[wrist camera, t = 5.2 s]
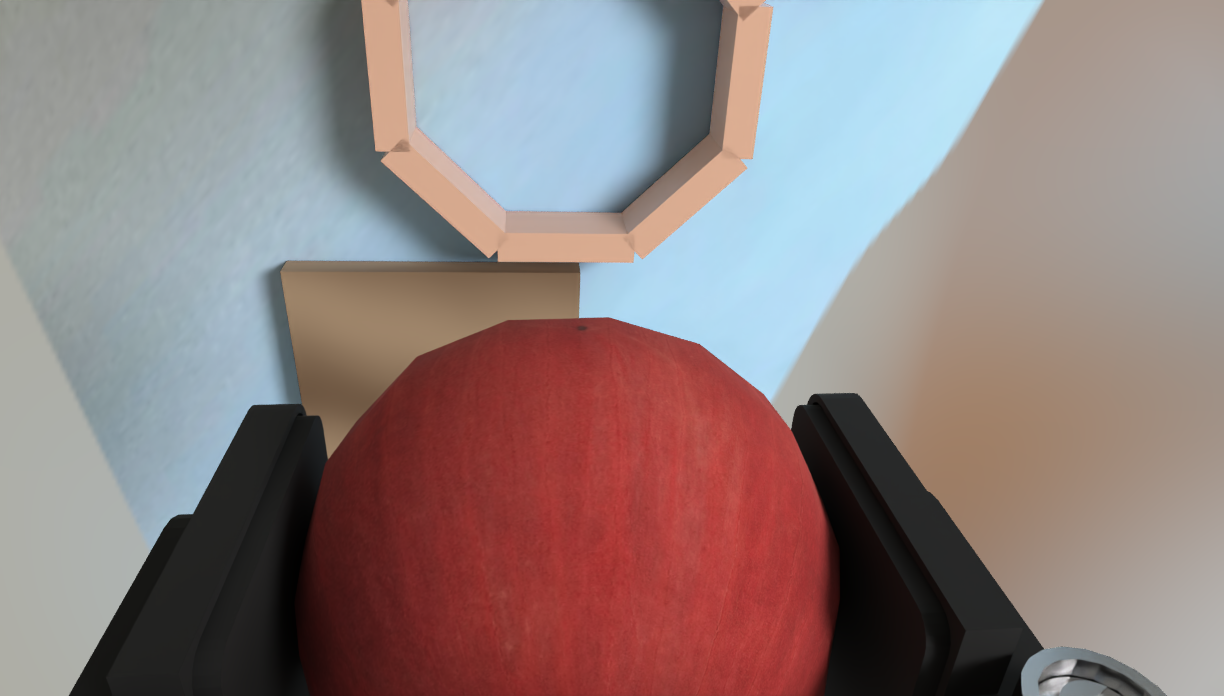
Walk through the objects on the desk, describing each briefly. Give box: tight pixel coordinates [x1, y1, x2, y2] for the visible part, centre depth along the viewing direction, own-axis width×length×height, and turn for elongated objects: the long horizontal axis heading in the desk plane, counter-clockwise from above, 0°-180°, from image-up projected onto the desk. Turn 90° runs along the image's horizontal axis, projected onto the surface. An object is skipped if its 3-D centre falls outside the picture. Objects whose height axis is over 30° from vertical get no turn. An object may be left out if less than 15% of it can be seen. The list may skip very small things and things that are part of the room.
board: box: [280, 261, 580, 459], centre depth 28 cm, size 10×9×1 cm
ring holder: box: [361, 0, 773, 263], centre depth 22 cm, size 10×10×2 cm
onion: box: [294, 317, 840, 696], centre depth 9 cm, size 6×6×8 cm
